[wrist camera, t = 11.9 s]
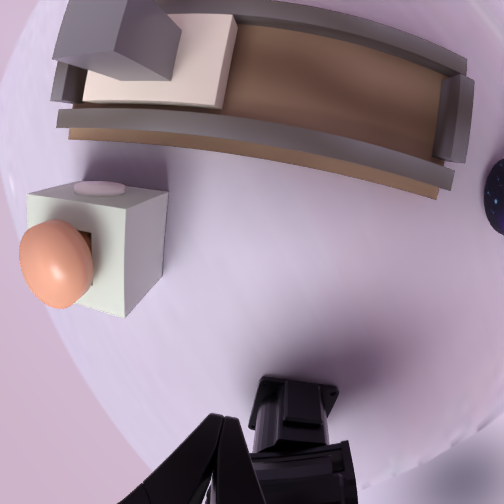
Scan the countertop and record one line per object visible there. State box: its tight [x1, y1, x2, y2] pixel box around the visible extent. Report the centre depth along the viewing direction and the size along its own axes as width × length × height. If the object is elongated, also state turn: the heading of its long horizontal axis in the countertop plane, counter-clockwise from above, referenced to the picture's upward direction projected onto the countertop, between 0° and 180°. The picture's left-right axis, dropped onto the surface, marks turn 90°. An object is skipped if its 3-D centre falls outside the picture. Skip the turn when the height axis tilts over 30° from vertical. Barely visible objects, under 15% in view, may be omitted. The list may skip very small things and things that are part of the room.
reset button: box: [19, 219, 94, 309], centre depth 15 cm, size 4×4×5 cm
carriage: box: [52, 0, 238, 110], centre depth 12 cm, size 5×8×8 cm, turn 81°
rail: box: [50, 0, 474, 200], centre depth 15 cm, size 10×24×4 cm, turn 80°
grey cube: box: [27, 181, 169, 318], centre depth 18 cm, size 6×7×6 cm
